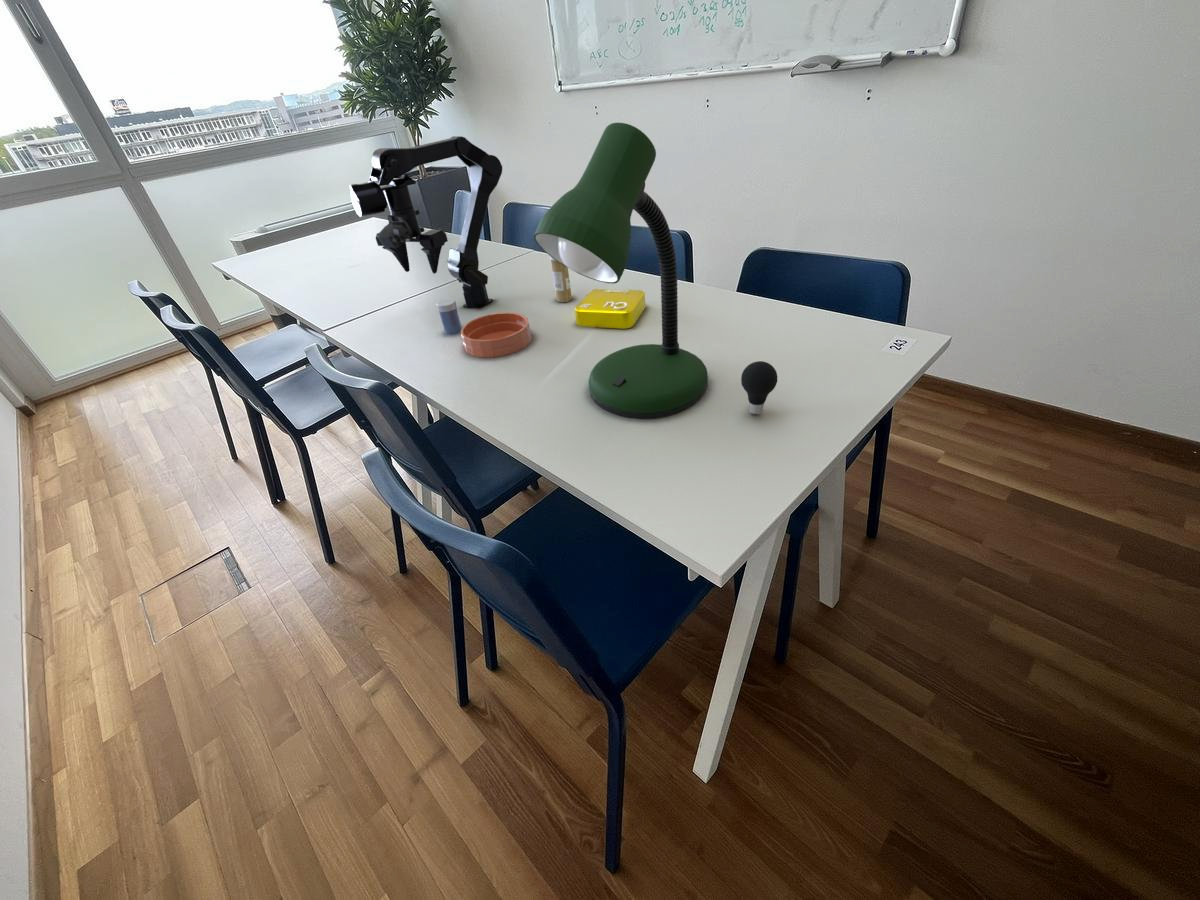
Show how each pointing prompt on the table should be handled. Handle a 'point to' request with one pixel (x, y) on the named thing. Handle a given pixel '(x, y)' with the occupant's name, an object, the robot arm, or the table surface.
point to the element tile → (610, 308)
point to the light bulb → (758, 384)
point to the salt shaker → (449, 316)
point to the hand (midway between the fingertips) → (421, 272)
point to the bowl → (496, 335)
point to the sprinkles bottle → (561, 281)
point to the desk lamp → (600, 252)
